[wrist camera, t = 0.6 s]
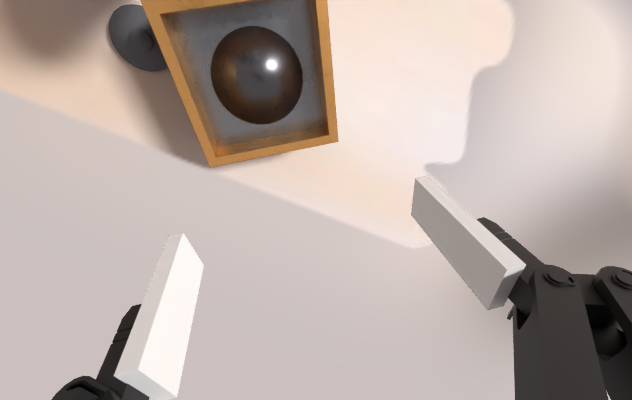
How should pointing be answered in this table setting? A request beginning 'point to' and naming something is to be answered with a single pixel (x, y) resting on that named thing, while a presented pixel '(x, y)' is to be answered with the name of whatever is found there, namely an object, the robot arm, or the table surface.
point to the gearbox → (250, 73)
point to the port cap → (136, 38)
